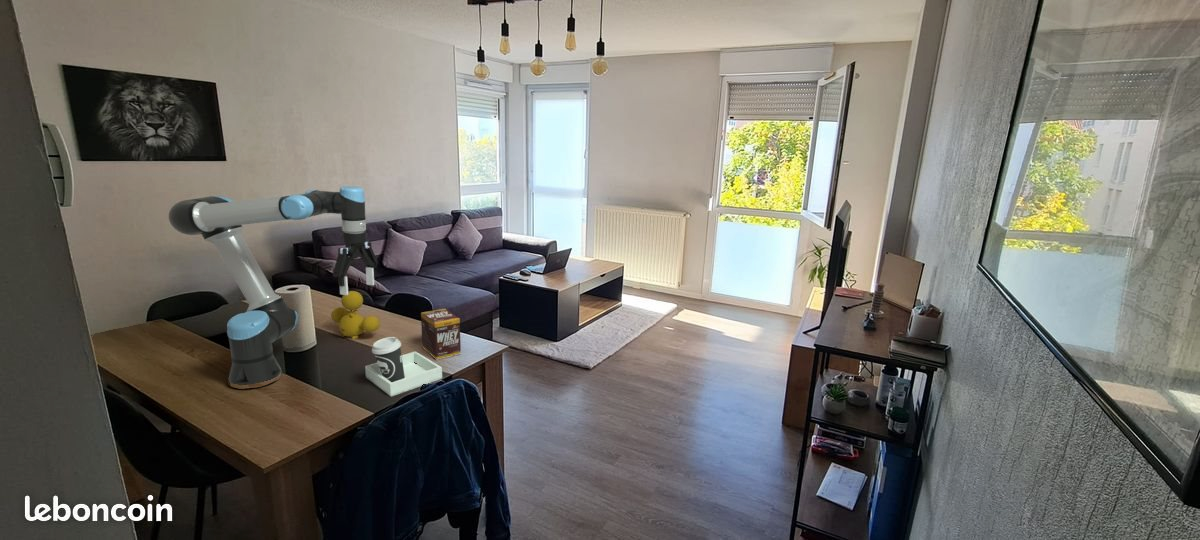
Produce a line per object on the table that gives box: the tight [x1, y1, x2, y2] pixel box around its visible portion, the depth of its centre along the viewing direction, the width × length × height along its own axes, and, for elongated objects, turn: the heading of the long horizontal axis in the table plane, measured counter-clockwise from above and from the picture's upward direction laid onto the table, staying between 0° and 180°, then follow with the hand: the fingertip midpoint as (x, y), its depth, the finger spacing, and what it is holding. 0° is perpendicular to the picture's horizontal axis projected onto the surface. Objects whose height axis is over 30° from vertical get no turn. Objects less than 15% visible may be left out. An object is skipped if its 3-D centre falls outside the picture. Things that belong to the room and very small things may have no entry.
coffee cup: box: [371, 336, 405, 382], centre depth 169 cm, size 10×10×15 cm
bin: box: [364, 351, 443, 397], centre depth 175 cm, size 19×19×4 cm
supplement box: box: [420, 308, 462, 359], centre depth 197 cm, size 10×15×16 cm
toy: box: [330, 290, 381, 340], centre depth 207 cm, size 26×10×20 cm, turn 63°
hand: (357, 289), depth 175 cm, fingers open, 13 cm apart
